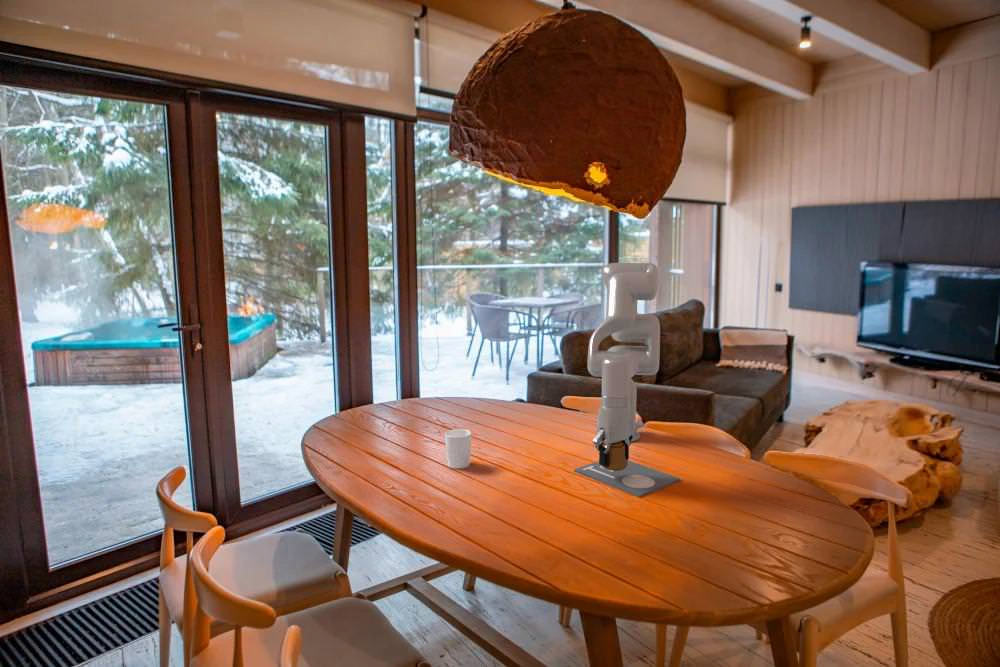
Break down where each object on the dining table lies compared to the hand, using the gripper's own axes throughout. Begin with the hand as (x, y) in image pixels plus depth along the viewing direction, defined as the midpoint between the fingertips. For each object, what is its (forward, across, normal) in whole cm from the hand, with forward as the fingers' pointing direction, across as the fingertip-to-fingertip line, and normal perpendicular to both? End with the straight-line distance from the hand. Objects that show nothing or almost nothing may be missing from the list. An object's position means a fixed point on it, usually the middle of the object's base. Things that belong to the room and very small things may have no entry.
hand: (613, 461), depth 176 cm
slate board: (+5, -5, 0) cm, 7 cm away
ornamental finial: (+2, 0, 0) cm, 2 cm away
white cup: (+5, +27, -38) cm, 47 cm away
